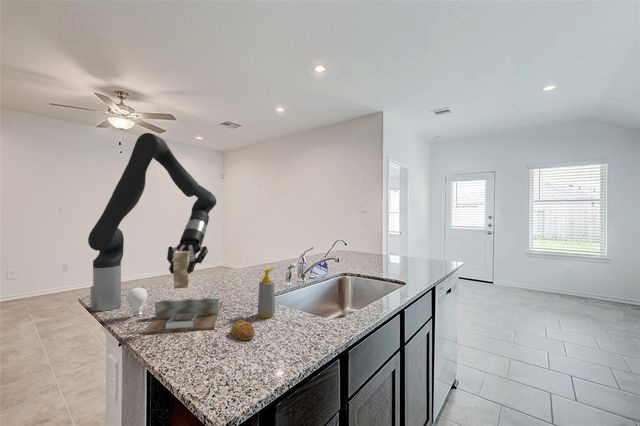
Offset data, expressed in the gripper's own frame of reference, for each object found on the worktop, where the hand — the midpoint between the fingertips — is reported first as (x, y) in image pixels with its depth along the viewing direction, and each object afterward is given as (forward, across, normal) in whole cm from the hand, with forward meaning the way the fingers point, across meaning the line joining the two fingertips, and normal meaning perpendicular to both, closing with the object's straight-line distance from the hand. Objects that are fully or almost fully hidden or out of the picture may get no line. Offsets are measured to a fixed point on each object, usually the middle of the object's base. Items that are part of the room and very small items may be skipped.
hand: (180, 272), depth 98 cm
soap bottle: (+6, +27, +22) cm, 36 cm away
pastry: (+18, +22, +11) cm, 31 cm away
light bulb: (+6, -21, +22) cm, 31 cm away
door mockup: (+7, -2, +21) cm, 22 cm away
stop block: (+3, 0, +5) cm, 6 cm away
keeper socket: (+13, 0, +15) cm, 20 cm away
